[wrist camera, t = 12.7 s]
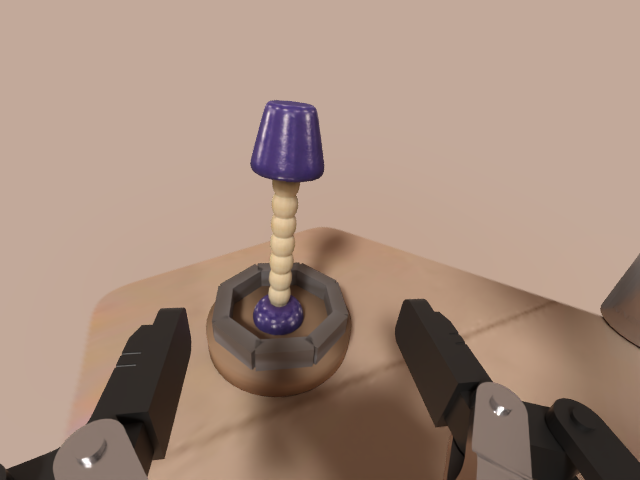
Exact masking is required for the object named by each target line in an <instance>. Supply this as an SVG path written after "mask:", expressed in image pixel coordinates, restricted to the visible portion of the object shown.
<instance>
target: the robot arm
mask: <svg viewBox="0 0 640 480" xmlns="http://www.w3.org/2000/svg"><path fill="white" fill-rule="evenodd" d="M600 309H601V313H602V315H603V317H604V318H605V320H606V321H607V322H608V323H609V324H610V326H611V327H613V328H614V329H615V330H616V331H617V332H618V333H619V334H621V335H622V336H624V337H625V338H626V339H628V340H629V341H631V342H632V343H634V344H635V345H637V346H639V347H640V254H639V255H638V257H637V258H636V260H635V261H634V262H633V264H632V265H631V266H630V268H629V269H628V270H627V272H626V273H625V274H624V276H623V277H622V278H621V279H620V281H619V282H618V283H617V285H616V286H615V288H614V289H613V290H612V291H611V293H610V294H609V295H608V297H607V298H606V299H605V301H604V302H603V304H602V305H601V308H600ZM395 337H396V342H397V344H398V346H399V349H400V351H401V353H402V355H403V357H404V359H405V362H406V364H407V366H408V368H409V370H410V373H411V375H412V377H413V379H414V381H415V383H416V386H417V388H418V390H419V392H420V394H421V396H422V399H423V401H424V403H425V405H426V407H427V410H428V412H429V414H430V416H431V418H432V420H433V423H434V425H435V427H442V426H448V427H449V429H450V431H451V435H450V438H449V443H448V450H447V456H446V463H445V469H444V476H443V480H579V479H578V478H577V476H576V475H577V474H578V473H579V472H580V473H581V475H582V476H583V478H584V479H585V480H640V463H639V462H638V460H637V459H636V458H635V457H634V456H633V455H632V453H631V452H630V451H629V450H628V449H627V448H626V447H625V445H624V444H623V443H622V442H621V441H620V440H619V439H618V437H617V436H616V435H615V434H614V433H613V432H612V431H611V429H610V428H609V427H608V426H607V425H606V424H605V422H604V421H603V420H602V419H601V418H600V417H599V416H598V415H597V414H596V413H595V412H593V411H592V410H591V409H589V408H588V407H586V406H585V405H583V404H581V403H579V402H577V401H574V400H571V399H566V398H562V399H558V400H556V401H555V402H554V404H553V405H552V406H551V407H545V406H541V405H536V404H532V403H528V402H523V401H521V400H520V398H519V397H518V396H517V395H516V394H515V393H514V392H512V391H511V390H510V389H508V388H506V387H505V386H503V385H500V384H498V383H494V382H493V381H492V380H491V379H490V377H489V376H488V374H487V373H486V371H485V370H484V369H483V367H482V366H481V364H480V363H479V361H478V360H477V359H476V357H475V356H474V354H473V353H472V351H471V350H470V349H469V347H468V346H467V344H465V341H464V340H463V339H462V337H461V336H460V335H459V334H458V331H457V330H456V329H455V327H454V326H453V324H452V323H451V321H449V320H448V319H447V318H446V317H445V316H443V315H442V314H441V313H440V312H434V311H433V309H432V308H431V306H430V305H429V303H428V302H427V300H425V299H406V300H404V301H403V304H402V307H401V310H400V314H399V317H398V320H397V324H396V327H395ZM190 354H191V335H190V330H189V324H188V319H187V313H186V309H185V308H162V309H160V310H159V311H158V314H157V316H156V318H155V321H154V323H153V325H142V326H141V327H140V328H139V329H138V330H137V331H136V332H135V333H134V334H133V335H132V336H131V337H130V338H129V339H128V341H127V343H126V346H125V348H124V350H123V352H122V356H120V358H119V360H118V362H117V364H116V368H114V370H113V373H112V375H111V377H110V379H109V381H108V383H107V385H106V387H105V389H104V391H103V393H102V395H101V397H100V400H99V402H98V404H97V406H96V408H95V410H94V412H93V414H92V416H91V418H90V420H89V421H88V423H87V424H86V425H85V426H83V427H81V428H80V429H78V430H77V431H76V432H74V433H73V434H72V435H71V436H70V437H69V438H68V439H67V440H66V441H65V442H64V443H63V444H62V446H61V447H59V448H58V449H56V450H54V451H52V452H49V453H47V454H45V455H42V456H39V457H37V458H34V459H32V460H30V461H27V462H24V463H22V464H19V465H17V466H14V467H11V468H9V469H5V468H4V466H2V465H1V464H0V480H148V478H147V477H148V473H149V469H150V466H151V462H152V460H159V459H165V455H166V451H167V447H168V443H169V439H170V435H171V431H172V427H173V423H174V419H175V415H176V411H177V407H178V403H179V399H180V395H181V391H182V387H183V383H184V379H185V375H186V371H187V367H188V362H189V358H190Z"/></svg>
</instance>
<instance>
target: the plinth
mask: <svg viewBox="0 0 640 480" xmlns="http://www.w3.org/2000/svg"><path fill="white" fill-rule="evenodd" d="M270 271H271V267H270V263H258V266H257V265H256V264H254V265H253V266H251V267H249V268H247V269H246V270H244V271H242V272H240V273H239V274H237V275H235V276H233V277H232V278H230V279H228V280H226V281H225V282H223V283H221V284H220V286H218V291H217V297H216V302H215V303H214V304H213V306H212V308H211V310H210V312H209V315H208V318H207V324H206V331H207V340H208V346H209V352H210V356H211V360H212V362H213V364H214V366H215V368H216V369H217V370H218V372H219V373H220V374H221V375H222V376H223V377H224V378H225V379H226V380H227V381H228V382H230V383H231V384H232V385H234V386H236V387H237V388H239V389H241V390H243V391H246V392H249V393H252V394H256V395H261V396H269V397H284V396H291V395H296V394H300V393H303V392H306V391H308V390H311V389H313V388H315V387H317V386H319V385H320V384H322V383H324V382H325V381H326V380H327V379H329V378H330V377H331V376H332V375H333V374H334V373H335V372H336V371H337V369H338V368H339V366H340V365H341V364H342V362H343V359H344V357H345V355H346V351H347V347H348V342H349V337H350V331H351V318H350V314H349V311H348V308H347V306H346V304H345V302H344V299H343V296H342V293H341V290H340V287H339V284H338V282H336V280H334V279H332V278H330V277H328V276H326V275H324V274H322V273H320V272H319V271H317V270H315V269H313V268H311V267H309V266H307V265H305V264H303V263H302V264H300V263H293V267H292V269H291V273H292V281H291V284H290V286H289V287H290V291H291V295H292V296H294V297H295V298H296V299H297V300H298V301H299V303H300V304H301V306H302V309H303V315H304V318H303V322H302V324H301V326H300V327H299V328H298V329H296V330H295V331H293V332H292V333H289V334H286V335H271V334H268V333H265V332H263V331H261V330H259V329H258V328H257V327H256V325H255V324H254V321H253V312H254V309H255V306H256V305H257V303H258V302H259V300H260V299H261V298H263V297H264V296H266V295H268V292H269V288H270V286H271V285H270V282H269V274H270Z"/></svg>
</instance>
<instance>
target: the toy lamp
mask: <svg viewBox="0 0 640 480" xmlns="http://www.w3.org/2000/svg"><path fill="white" fill-rule="evenodd" d="M250 164H251V168H252V170H253V171H254V172H255V173H257V174H258V175H260V176H262V177H265V178H268V179H272V180H273V181H272V184H273V189H274V192H275V194H274V196H273V199H272V209H273V212H274V215H273V217H272V221H271V229H272V232H273V234H272V236H271V240H270V247H271V250H272V253H271V256H270V267H271V271H270V274H269V282H270V285H271V286H270V288H269V292H268V295H266V296H264V297H263V298H261V299H260V300H259V302H258V303H257V305H256V306H255V309H254V312H253V321H254V324H255V325H256V327H257V328H258V329H259V330H261V331H263V332H265V333H268V334H271V335H286V334H289V333H292V332H293V331H295V330H296V329H298V328H299V327H300V326H301V324H302V322H303V318H304V315H303V309H302V306H301V304H300V303H299V301H298V300H297V299H296V298H295V297H294V296H292V295H291V291H290V287H289V286H290V284H291V281H292V273H291V269H292V267H293V262H294V259H293V255H292V252H293V250H294V247H295V239H294V236H293V234H294V232H295V230H296V218H295V214H296V212H297V209H298V199H297V196H296V194H297V193H298V190H299V186H300V182H307V181H313V180H316V179H319V178H320V177H321V176H322V175H323V172H324V160H323V151H322V143H321V135H320V129H319V120H318V114H317V110H316V108H315V107H314V106H312V105H310V104H306V103H299V102H292V101H279V100H274V101H269V102H268V103H267V104H266V106H265V109H264V112H263V116H262V119H261V123H260V127H259V131H258V135H257V138H256V142H255V146H254V150H253V153H252V158H251V163H250Z"/></svg>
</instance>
